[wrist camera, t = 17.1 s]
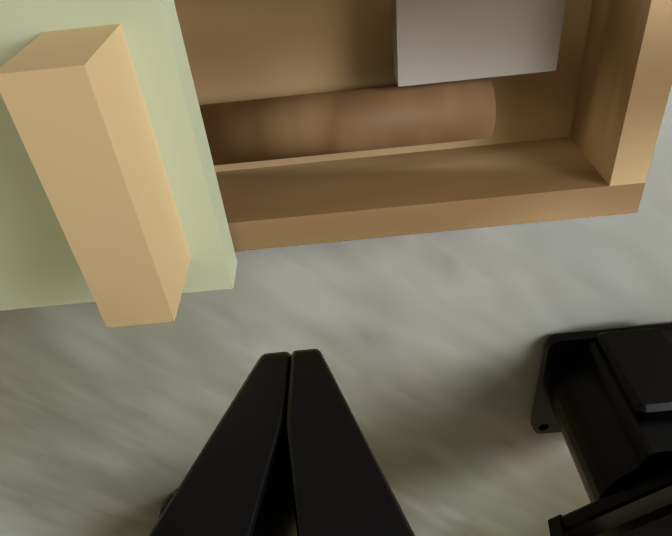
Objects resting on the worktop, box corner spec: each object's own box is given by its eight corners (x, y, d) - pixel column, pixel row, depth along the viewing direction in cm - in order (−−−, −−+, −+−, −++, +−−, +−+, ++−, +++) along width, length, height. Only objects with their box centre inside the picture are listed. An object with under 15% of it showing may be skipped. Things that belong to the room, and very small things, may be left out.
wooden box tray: (585, 150, 20) (637, 212, 17) (186, 190, 21) (164, 257, 17) (638, -126, 15) (723, -110, 12) (113, -69, 16) (64, -39, 13)
